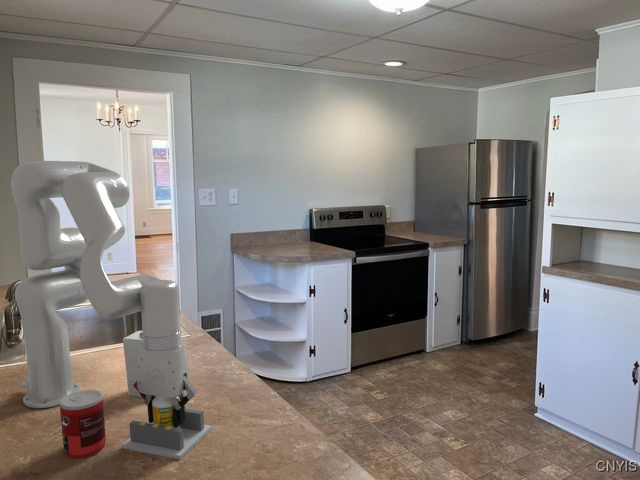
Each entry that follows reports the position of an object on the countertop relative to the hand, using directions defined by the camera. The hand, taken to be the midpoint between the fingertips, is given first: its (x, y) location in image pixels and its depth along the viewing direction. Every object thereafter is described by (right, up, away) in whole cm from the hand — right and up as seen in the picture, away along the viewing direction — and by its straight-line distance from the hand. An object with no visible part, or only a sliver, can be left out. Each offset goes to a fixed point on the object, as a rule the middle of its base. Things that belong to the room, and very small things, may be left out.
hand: (166, 421), depth 103 cm
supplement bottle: (0, -2, 0) cm, 2 cm away
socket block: (0, -4, 0) cm, 4 cm away
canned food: (-16, -5, -3) cm, 17 cm away
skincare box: (-12, -1, +22) cm, 25 cm away
